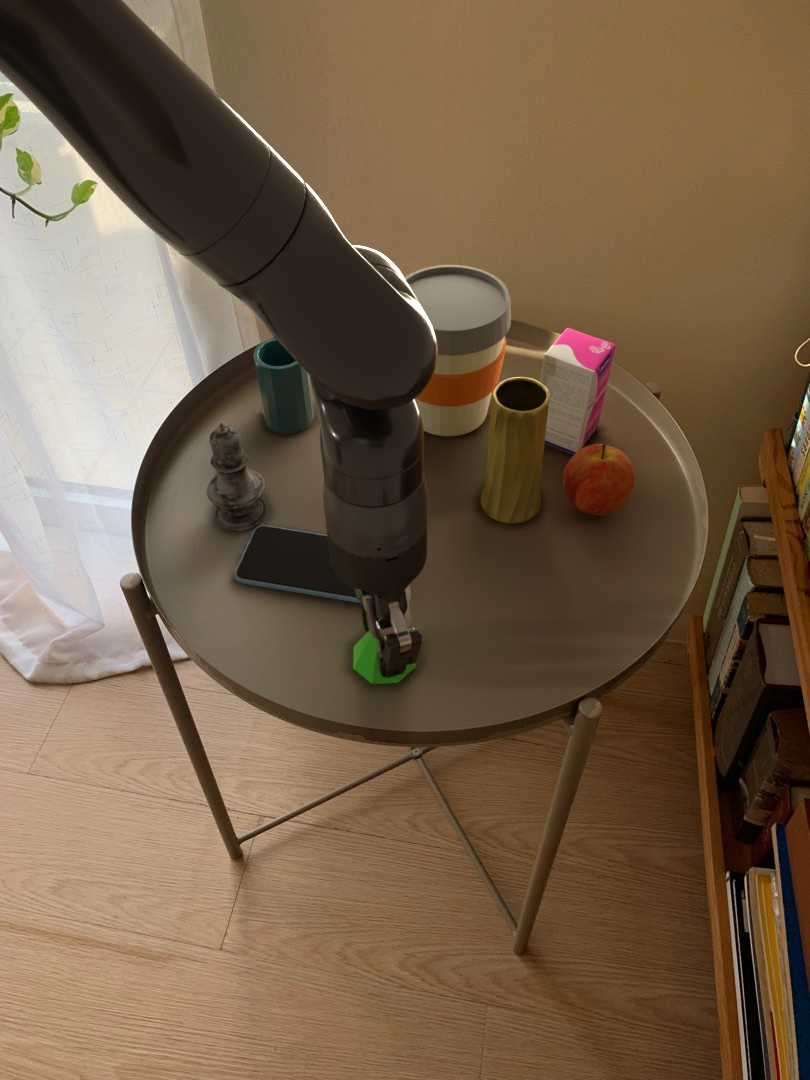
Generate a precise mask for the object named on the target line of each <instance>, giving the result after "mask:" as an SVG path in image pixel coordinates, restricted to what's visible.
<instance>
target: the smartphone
mask: <svg viewBox="0 0 810 1080" xmlns="http://www.w3.org/2000/svg"><path fill="white" fill-rule="evenodd" d="M234 575H235V579H236V581H237V582H239V583H241V584H245V585H251V586H256V587H263V588H268V589H274V590H280V591H286V592H293V593H297V594H303V595H309V596H316V597H321V598H326V599H332V600H340V601H344V602H350V603H358V604H361V603H360V601H359V599H357V595H356V593H355V590H354V588H353V587H351V586H350V585H348V584H346V583H345V582H344V581H342V580H341V579H340V578H339V577H338V575H337V574H336V573H335V571H334V569H333V567H332V564H331V560H330V553H329V544H328V536H327V534H324V533H323V534H322V533H315V532H311V531H304V530H297V529H288V528H284V527H278V526H271V525H260V526H256V528H255V529H254V530H253V531H252V534H251V536H250V537H249V540H248V542H247V545H246V546H245V549H244V551H243V553H242V556H241V557H240V560H239V561H238V564H237V566H236V569H235V571H234Z"/></svg>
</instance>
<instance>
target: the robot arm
mask: <svg viewBox="0 0 810 1080" xmlns="http://www.w3.org/2000/svg"><path fill="white" fill-rule="evenodd" d="M0 73H1V74H2V75H3V76H4V77H5V78H6V79H8V80H9V82H11V84H13V85H14V86H15V88H17V89H18V90H19V91H20V92H21V93H22V94H23V95H24V96H25V97H26V98H27V99H28V100H29V101H30V102H31V103H32V105H34V106H35V108H36V109H37V110H38V111H40V113H41V114H42V115H43V116H44V117H45V118H46V119H47V120H48V121H49V122H50V123H51V124H52V125H53V127H55V129H56V130H57V131H58V132H59V134H60V135H61V136H62V137H63V138H64V139H65V140H66V141H67V142H68V144H69V145H70V146H71V147H72V148H73V150H74V151H75V152H76V153H77V154H78V155H79V157H81V158H82V160H83V161H84V162H85V163H86V164H87V165H88V166H89V168H90V169H91V170H92V171H93V172H94V174H95V175H97V177H98V178H99V179H100V180H101V181H102V182H103V183H104V184H105V186H106V187H108V189H109V190H110V191H111V192H112V193H113V194H114V195H115V196H116V197H117V198H118V199H119V200H120V202H122V203H123V204H124V205H125V206H126V207H127V208H128V210H130V212H132V214H133V215H135V216H136V217H137V218H138V219H139V220H140V222H142V223H143V224H144V225H145V226H146V227H148V228H149V229H150V230H151V231H152V232H153V233H154V234H156V236H157V237H159V238H160V239H161V240H163V241H164V242H165V243H166V244H168V246H170V248H171V249H173V250H174V251H176V252H177V253H178V254H179V255H181V256H182V258H184V259H185V260H186V261H188V262H189V263H190V264H191V265H192V266H194V267H195V268H197V269H198V270H199V271H200V272H202V273H203V274H204V275H205V276H206V277H207V278H209V279H210V280H211V281H213V282H214V283H216V285H218V286H219V287H220V288H221V289H223V290H225V291H226V292H227V293H229V294H230V295H232V296H233V297H235V298H236V299H237V300H238V301H240V302H241V303H242V304H243V305H245V307H247V309H248V310H249V311H251V313H252V314H254V316H255V317H256V318H257V319H258V320H259V321H260V322H261V323H262V326H264V327H265V328H266V330H267V331H268V332H269V333H270V335H271V336H272V337H273V338H275V339H276V340H277V341H278V342H279V343H280V344H281V345H282V346H283V347H284V348H285V349H286V350H287V351H288V353H289V354H290V355H291V356H292V357H293V358H294V359H295V360H296V361H297V362H298V363H299V364H300V365H301V366H302V367H303V369H304V370H305V371H306V372H307V373H308V374H309V377H310V383H311V390H312V394H313V397H314V400H315V403H316V410H317V415H318V423H319V446H320V454H321V463H322V471H323V492H322V493H323V495H322V498H323V499H322V501H323V509H324V518H325V526H326V535H327V536H328V544H329V553H330V560H331V564H332V567H333V569H334V571H335V573H336V574H337V575H338V577H339V578H340V579H341V580H342V581H344V582H345V583H346V584H348V585H350V586H351V587H353V588H354V590H355V593H356V595H357V599H359V601H360V603H359V604H360V610H361V621H362V626H363V630H364V631H365V632H366V633H367V632H368V631H369V630H370V633H371V635H372V637H373V638H376V642H377V653H378V659H379V670H380V673H381V676H382V677H387V678H390V677H393V676H397V675H400V674H403V673H404V671H405V670H406V665H409V664H410V665H411V664H414V663H416V664H417V661H418V656H419V653H420V649H421V645H422V638H423V637H422V632H421V631H420V630H419V628H418V627H415V628H414V627H413V622H412V612H411V606H410V600H411V599H412V590H411V589H412V588H411V584H412V582H414V580H416V578H418V577H419V575H420V574H421V572H422V571H423V569H424V567H425V565H426V562H427V558H428V490H427V489H428V488H427V482H426V478H425V471H424V470H425V464H424V463H425V461H424V460H425V459H424V458H425V451H424V450H425V448H424V445H425V435H424V432H425V431H424V430H423V424H422V419H421V415H420V411H419V409H418V406H417V404H416V401H415V398H416V397H418V396H419V395H420V394H421V393H422V392H423V391H424V389H425V388H426V387H427V385H428V384H429V382H430V380H431V378H432V376H433V374H434V371H435V368H436V363H437V341H436V336H435V333H434V330H433V327H432V324H431V322H430V320H429V319H428V317H427V315H426V313H425V312H424V310H423V308H422V307H421V305H420V304H419V302H418V300H417V298H416V297H415V295H414V293H413V292H412V290H411V288H410V287H409V285H408V283H407V281H406V280H405V276H404V275H403V273H402V272H401V270H400V269H399V268H398V266H397V265H395V263H394V262H393V261H392V260H391V259H389V258H388V257H387V256H386V255H384V254H383V253H382V252H380V251H378V250H376V249H373V248H370V247H367V246H363V245H356V244H355V245H353V244H351V243H350V241H349V240H348V239H347V238H346V237H345V235H344V234H343V232H342V231H341V229H340V228H339V226H338V224H337V223H336V221H335V219H334V218H333V216H332V214H331V213H330V211H329V210H328V208H327V206H325V204H324V203H323V201H322V200H321V199H320V197H319V196H318V195H317V194H316V192H315V191H314V190H313V189H312V188H311V187H310V185H309V184H308V183H306V181H305V180H304V179H303V178H302V177H301V176H300V175H299V174H298V172H296V171H295V170H294V169H293V168H292V167H291V165H289V164H288V162H286V161H285V159H283V158H282V157H281V156H280V154H279V153H278V152H277V151H276V150H274V148H273V147H272V146H271V145H270V144H269V143H268V142H267V141H266V140H265V139H264V138H263V137H262V136H261V135H260V134H258V132H256V130H255V129H254V128H253V127H251V125H249V124H248V123H247V121H246V120H244V118H242V116H240V114H239V113H238V112H236V111H235V110H234V109H233V107H231V105H229V104H228V103H227V102H226V101H225V100H224V99H223V98H222V97H221V96H220V95H219V94H218V92H216V91H215V90H214V89H213V88H212V87H211V86H210V85H209V84H208V83H207V82H206V81H205V80H204V79H202V77H201V76H200V75H199V74H197V73H196V71H194V70H193V69H192V68H191V67H190V66H189V64H187V63H186V62H185V61H184V60H183V59H182V58H181V57H180V56H179V55H178V54H177V53H176V52H175V51H174V50H173V49H172V48H171V47H170V46H169V45H168V44H167V43H166V42H165V41H164V40H163V39H161V37H159V36H158V34H157V33H155V31H154V30H153V29H151V27H149V25H148V24H146V23H145V21H143V19H141V17H139V16H138V15H137V14H136V13H135V12H134V10H133V9H131V8H130V7H129V5H128V4H127V3H126V2H125V1H124V0H0ZM378 620H380V621H378ZM384 638H385V641H384Z"/></svg>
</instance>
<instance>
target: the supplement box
mask: <svg viewBox="0 0 810 1080" xmlns="http://www.w3.org/2000/svg"><path fill="white" fill-rule="evenodd" d="M616 347H617V345H616V344H615V343H614V342H611V341H610V342H609V341H608V340H603V339H601V338H599V337H595V336H592V335H589V334H587V333H583V332H581V331H578V330H576V329H572V328H571V327H567V328H565V330H564V331H563V332H562V333H561V334H560V335H559V336H558V338H557V339H556V340H555V341H554V343H552V345H551V346H550V347H549V349H548V350H547V351H546V352H545V353H544V355H543V360H542V366H541V373H540V379H539V382H540V383H542V384H543V385H544V386H545V387H546V388H547V389H548V391H549V393H550V400H549V406H548V416H547V424H546V433H545V443H544V445H547V446H549V447H551V448H552V447H553V448H555V449H557V450H560V451H562V452H565V453H568V454H570V455H572V456H574V454H575V453H576V452H578V451H579V450H580V449H582V448H584V447H585V444H586V443H587V442H588V440H589V439H590V437H591V436H592V435H593V433H594V432H596V430H597V429H598V426H599V424H600V419H601V414H602V410H603V405H604V400H605V396H606V391H607V387H608V382H609V377H610V374H611V368H612V364H613V361H614V356H615V351H616Z"/></svg>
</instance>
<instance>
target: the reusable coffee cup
mask: <svg viewBox="0 0 810 1080" xmlns="http://www.w3.org/2000/svg"><path fill="white" fill-rule="evenodd" d="M404 278H405V280H406V281H407V283H408V285H409V287H410V288H411V290H412V292H413V293H414V295H415V297H416V298H417V300H418V302H419V304H420V305H421V307H422V308H423V310H424V312H425V313H426V315H427V317H428V319H429V320H430V322H431V324H432V327H433V330H434V333H435V336H436V341H437V363H436V368H435V371H434V374H433V376H432V378H431V380H430V382H429V384H428V385H427V387H426V388H425V389H424V391H423V392H422V393H421V394H420V395H419V396H418V397H416V398H415V401H416V404H417V406H418V409H419V411H420V415H421V419H422V424H423V432H426V433H428V434H431V435H436V436H440V437H457V436H463V435H466V434H468V433H471V432H473V431H475V430H476V429H478V428H479V427H480V426H481V425H482V424H483V423H484V422H485V420H486V418H487V416H488V415H487V414H488V410H489V406H490V402H491V399H492V395H493V392H494V389H495V387H496V386H497V385H498V384H499V380H500V375H501V372H502V367H503V363H504V359H505V355H506V351H507V340H506V336H507V334H508V333H509V330H510V328H511V323H512V315H511V314H512V312H511V311H512V310H511V295H510V291H509V289H508V288H507V286H506V284H505V283H504V282H503V281H502V280H501V279H500V278H499V277H497V276H496V275H494V274H492V273H490V272H489V271H486V270H484V269H480V268H477V267H474V266H468V265H461V264H440V265H432V266H427V267H424V268H421V269H418V270H416V271H413V272H411V273H409V274H408V275H406V276H404Z"/></svg>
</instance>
